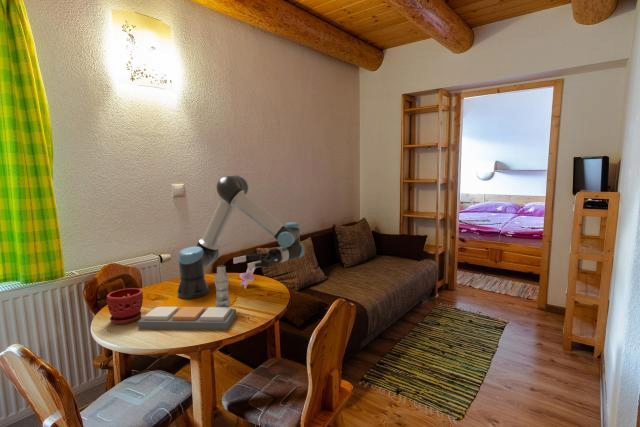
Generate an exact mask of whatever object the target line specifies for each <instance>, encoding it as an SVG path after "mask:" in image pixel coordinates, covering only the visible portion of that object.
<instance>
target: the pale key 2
mask: <svg viewBox="0 0 640 427" xmlns="http://www.w3.org/2000/svg"><path fill="white" fill-rule="evenodd" d="M206 309H207V310H206V311H205V312H204V313H203V314H202V315H201V316H200V321H224V320H225V319H226V317H227V316H228V315H229V313H230V312H231V309H232V308H231V306H230V307H216V306H214V307H213V306H211V307H210V306H209V307H208V308H206Z"/></svg>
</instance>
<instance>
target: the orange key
mask: <svg viewBox="0 0 640 427" xmlns="http://www.w3.org/2000/svg"><path fill="white" fill-rule="evenodd" d="M179 309H180V310H179V311H178V312H177V313H176V314H174V315H173V316H172V320H182V321H196V320H197V319H198V318H199V317H200V315H201V314H202V313H203V312H204V309H205V306H182V307H181V308H179Z"/></svg>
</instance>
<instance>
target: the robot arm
mask: <svg viewBox="0 0 640 427" xmlns="http://www.w3.org/2000/svg"><path fill="white" fill-rule="evenodd" d="M215 188H216V192H217V194H218V197H219V201H218V203H217V206H216V209H215V211H214V212H213V214H212V217H211V219H210V222H209V224H208V225H207V228H206V231H205V233H204V235H203V237H201V238H200V239H199V240H198V241H197V244H196V246H189V247H185V248H182V249H181V250H180V251H179V254H178V263H179V266H178V267H179V278H180V280H179V285H178V288H177V297H178V298H179V299H184V300H185V299H186V300H188V299H189V300H191V299H198V298H202V297H205V296H206V295H208V294H209V293H210V290H209V289H210V288H209V284H208V283H207V280H206V277H205V268H207V267H209V266H210V265H213V264H214V263H215V262H216V261H217V260H218V258H219V255H220V254H219V253H220V252H219V250H220V248H221V247H220V244H219V243H220V241H221V239H222V237H223V234H224V232H225V230H226V227H227V225H228V223H229V221H230V219H231V217H232V214H233V212H234V210H235V208H236V209H238V210H239V211H241V212H242V213H243V214H244V215H245V216H247V217H248V218H249V219H251V220H252V221H253V222H254V223H255V224H257V225H258V226H259V227H261V228H262V230H264V231H265V232H267V233H268V234H269V235H270V236H272V238H274V239H275V240H277V243H278V245H279V247H275V248H271V249H269V251H268V252H256V253H245V254H243V255H242V256H237V257H233V258H232V259H233V261H232V262H233V264H234V265H235V264H238V263H240V264H241V263H246V262H247V261H252V262H249V263H247V269H249V270H251V269H253V268H255V269H257V268H261V267H265V268H268V267H270V266H272V265H275V264H279V263H284V262H288V261H291V260H295V259H299V258H302V257H303V256H304V255H305V254H306V253H305V252H306V250H305V246H304V245H303V243H301V240H300V239H301V238H300V237H301V236H300V230H301V229H300V223H299V222H295V221H291V222H290V221H288V222H285V225H284V224H283V223H282V222H280V221H279V220H277V218H275V217H274V216H272V215H271V214H270V213H269V212H267V210H265V209H264V208H263V207H262V206H260V205H259V204H258V203H257V202H256V201H254V200H253V199H251V198H250V197H249V196H248V195H247V194H248V193H249V183H248V181H247V180H246V179H245V178H244V177H243V176H240V175H225V176H223V177H221V178H220V179H219V180H218V181H217V183H216V187H215Z"/></svg>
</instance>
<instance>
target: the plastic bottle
mask: <svg viewBox="0 0 640 427" xmlns="http://www.w3.org/2000/svg"><path fill="white" fill-rule="evenodd" d="M226 269H227V268H226V265H218V266H216V274H215V276H214V278H213V279H214V280H213V281H214V286H215V292H216V297H215V307H231V300H230V294H229V282H230V276H229V275H228V273H227V270H226Z"/></svg>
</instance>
